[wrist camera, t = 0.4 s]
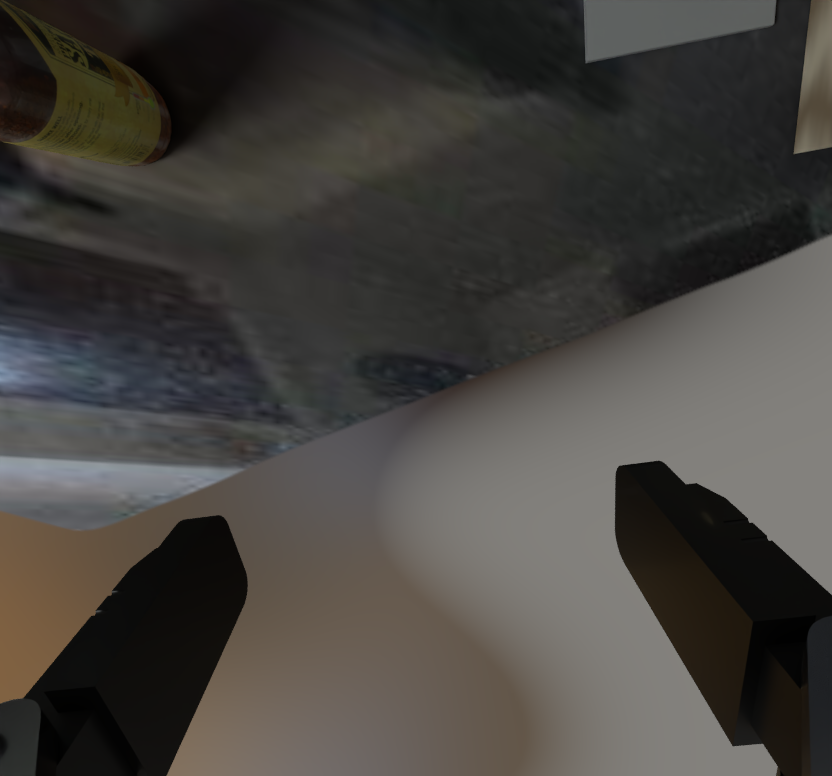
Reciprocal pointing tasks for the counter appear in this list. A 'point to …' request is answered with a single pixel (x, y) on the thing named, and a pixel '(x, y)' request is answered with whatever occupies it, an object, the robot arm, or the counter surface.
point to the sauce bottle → (75, 97)
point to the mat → (666, 23)
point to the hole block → (816, 82)
